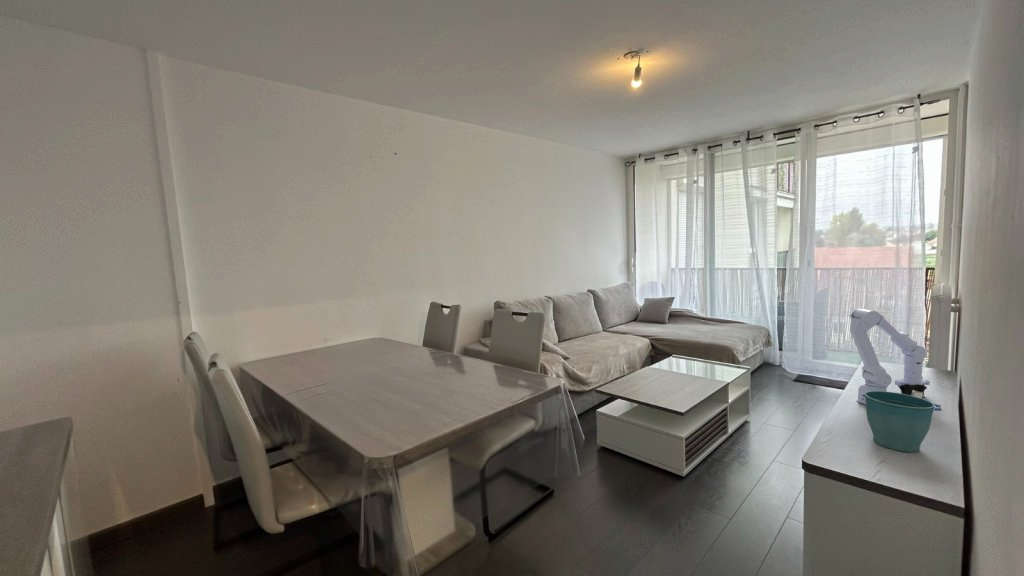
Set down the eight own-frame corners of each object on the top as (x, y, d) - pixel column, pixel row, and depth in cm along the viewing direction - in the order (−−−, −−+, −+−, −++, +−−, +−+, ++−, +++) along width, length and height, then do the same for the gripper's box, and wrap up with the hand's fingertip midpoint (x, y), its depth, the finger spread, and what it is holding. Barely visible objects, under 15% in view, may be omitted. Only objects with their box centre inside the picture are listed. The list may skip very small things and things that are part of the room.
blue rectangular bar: (930, 410, 177) (930, 408, 177) (927, 409, 178) (927, 407, 178) (940, 409, 177) (941, 408, 177) (938, 408, 178) (938, 407, 178)
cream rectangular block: (913, 408, 179) (914, 392, 178) (900, 403, 185) (901, 388, 184) (921, 408, 179) (922, 392, 179) (907, 403, 185) (908, 388, 185)
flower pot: (861, 429, 157) (863, 387, 156) (927, 443, 145) (930, 397, 144) (862, 446, 143) (865, 400, 142) (935, 462, 131) (939, 412, 130)
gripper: (906, 373, 177) (904, 403, 178) (938, 373, 177) (935, 403, 178) (890, 369, 184) (889, 398, 185) (921, 368, 184) (919, 397, 185)
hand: (911, 400), depth 182 cm, fingers closed on cream rectangular block, 3 cm apart
